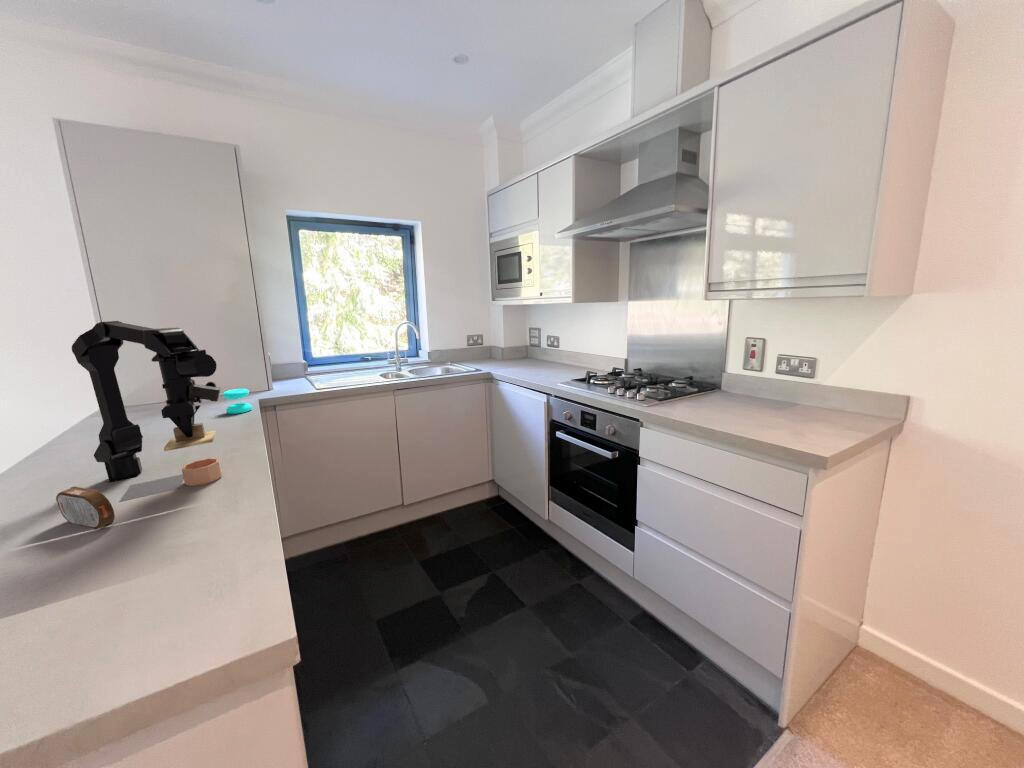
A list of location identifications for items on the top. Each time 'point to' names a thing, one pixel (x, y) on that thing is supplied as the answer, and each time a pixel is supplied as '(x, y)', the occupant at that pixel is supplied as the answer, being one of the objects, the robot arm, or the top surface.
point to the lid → (190, 438)
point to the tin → (85, 507)
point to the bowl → (202, 471)
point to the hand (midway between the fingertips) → (190, 435)
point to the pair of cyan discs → (237, 407)
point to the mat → (153, 487)
